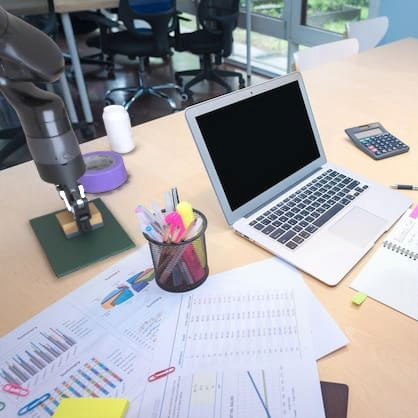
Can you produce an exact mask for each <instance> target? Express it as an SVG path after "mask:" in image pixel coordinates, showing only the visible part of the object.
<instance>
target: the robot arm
mask: <svg viewBox="0 0 418 418" xmlns="http://www.w3.org/2000/svg"><path fill="white" fill-rule="evenodd" d="M64 57H65V56H64V54H63V52H62V50H61V48H60V47H59V46H58V44H57V43H56V42H55V41H54V40H53V39H52V38H51V37H50V36H49V35H48V34H46V33H44V31H41V30H40V29H39V28H37V27H35V26H33V25H32V24H30V23H28V22H26V21H25V20H23V19H22V18H20V17H18V16H16V15H14V14H11V13H9V12H8V11H6V10H5V8H3V7H2V6H1V5H0V92H1V94H3V96H4V98H5V99H6V100H7V101H8V103H9V104H10V106H11V107H12V108H13V109H14V110H15V112H16V114H17V118H18V120H19V122H20V125H21V127H22V130H23V132H24V135H25V138H26V139H25V140H26V145H27V147H28V150H29V152H30V155H31V157H32V160H33V162H34V166H35V169H36V170H37V172H38V175H39V178H40V179H41V181H43V182H45V183H47V184H51V185H53V187H54V188H55V190H56V191H57V194H58V196H59V198H60V200H62V201H63V204H64V205H65V208H67V209H68V210H69V211H72V214H73V216H74V217H73V218H74V220H76V223H77V226H78V228H79V231H80V233H81V234H85V233H87V232H90V231H92V226H91V223H90V220H89V219H92V216H91V213H90V209H89V205H88V201H89V199H88V198H87V197H86V195H85V192H84V189H83V186H82V184H81V183H79V182H78V179H79V178H81V177H82V176H83V175H84V174H85V172H86V166H85V163H84V160H83V156H82V155H83V153H82V150H81V147H80V143H79V139H78V137H77V135H76V133H75V131H74V129H73V126H72V124H71V123H72V122H71V120H70V117H69V114H68V110H67V107H66V104H65V102H64V100H63V98H62V97H61V96H60V95H58V94H56V93H54V92H51V91H47V90H44V89H41V88H39V87H37V86H36V85H35V84H50V83H55V82H57V81H58V80H60V79H61V78H62V76H63V75H64V73H65V70H66V69H65V68H66V61H65V60H66V59H65V58H64Z"/></svg>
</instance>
